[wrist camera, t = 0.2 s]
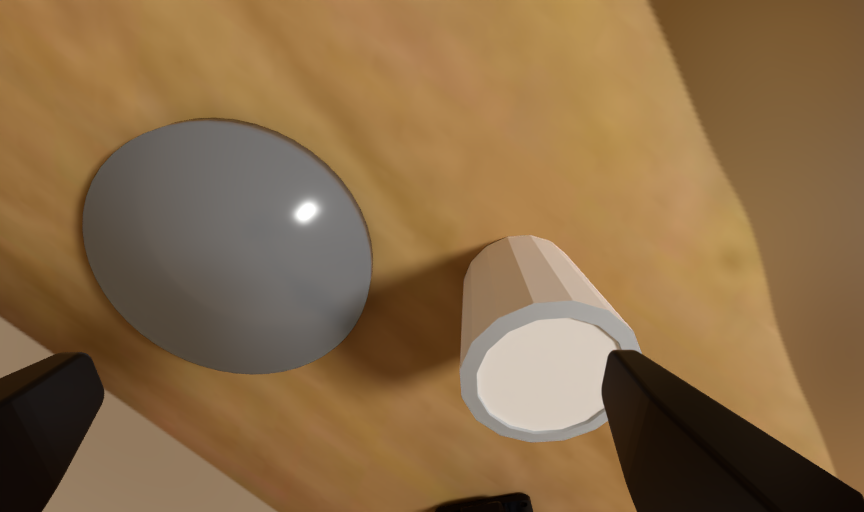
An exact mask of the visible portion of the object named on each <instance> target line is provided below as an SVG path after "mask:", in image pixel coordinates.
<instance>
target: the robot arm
mask: <svg viewBox="0 0 864 512" xmlns="http://www.w3.org/2000/svg"><path fill="white" fill-rule="evenodd" d="M601 395H602V401H603V405H604V408H605V412H606V415H607V419H608V422H609V426H610V429H611V433H612V436H613V440H614V443H615V447H616V450H617V454H618V457H619V461H620V464H621V468H622V471H623V475H624V478H625V481H626V484H627V487H628V490H629V492H630V495H631V498H632V500H633V503H634V505H635V508H636V510H637V512H864V498H863V496H862V494H861V493H860V492H858V491H856V490H855V489H853V488H851V487H850V486H848V485H847V484H845V483H844V482H842V481H841V480H839V479H838V478H836V477H834V476H833V475H831V474H830V473H828V472H827V471H825V470H823V469H822V468H820V467H819V466H817V465H816V464H814V463H812V462H811V461H809V460H808V459H806V458H805V457H803V456H801V455H800V454H798V453H797V452H795V451H794V450H792V449H790V448H789V447H787V446H786V445H784V444H783V443H781V442H779V441H778V440H776V439H775V438H773V437H772V436H770V435H768V434H767V433H765V432H764V431H762V430H761V429H759V428H757V427H756V426H754V425H753V424H751V423H750V422H748V421H746V420H745V419H743V418H742V417H740V416H739V415H737V414H735V413H734V412H732V411H731V410H729V409H728V408H726V407H724V406H723V405H721V404H720V403H718V402H717V401H715V400H713V399H712V398H710V397H709V396H707V395H706V394H704V393H702V392H701V391H699V390H698V389H696V388H695V387H693V386H691V385H690V384H688V383H687V382H685V381H684V380H682V379H680V378H679V377H677V376H676V375H674V374H673V373H671V372H669V371H668V370H666V369H665V368H663V367H662V366H660V365H658V364H657V363H655V362H654V361H652V360H651V359H649V358H647V357H646V356H644V355H643V354H641V353H640V352H638V351H636V350H612V351H611V352H610V353H609V355H608V357H607V362H606V367H605V372H604V377H603V381H602V387H601ZM103 399H104V388H103V385H102V382H101V380H100V378H99V375H98V373H97V370H96V368H95V365H94V363H93V361H92V359H91V357H90V356H89V355H88V354H86V353H82V352H64V353H58V354H55V355H53V356H50V357H48V358H46V359H43V360H41V361H39V362H37V363H34V364H32V365H30V366H27V367H25V368H23V369H21V370H18V371H16V372H14V373H11V374H9V375H7V376H5V377H3V378H0V512H42V511H43V509H44V508H45V506H46V504H47V503H48V501H49V500H50V498H51V497H52V495H53V493H54V492H55V490H56V489H57V487H58V485H59V483H60V482H61V480H62V478H63V476H64V474H65V472H66V471H67V469H68V467H69V465H70V463H71V461H72V459H73V457H74V456H75V454H76V452H77V450H78V448H79V446H80V444H81V442H82V440H83V439H84V437H85V435H86V433H87V431H88V429H89V427H90V426H91V424H92V421H93V420H94V418H95V416H96V414H97V412H98V410H99V409H100V407H101V405H102V402H103ZM435 512H533V509H532V504H531V500H530V497H529V496H528V495H526V494H520V495H514V496H508V497H501V498H495V499H489V500H483V501H477V502H471V503H464V504H458V505H452V506H446V507H440V508H437V509H436V510H435Z"/></svg>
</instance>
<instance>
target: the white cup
mask: <svg viewBox="0 0 864 512" xmlns="http://www.w3.org/2000/svg"><path fill="white" fill-rule="evenodd" d="M612 350H636V351H638V352H640V353H641V350H640V347H639V345H638V342H637V340H636V337H635V334H634V332H633V330H632V329H631V328H630V327H629V326H628V324H627V323H626V322H625V321H624V320H623V319H622V318H621V316H620V315H619V314H618V313H617V312H616V311H615V310H614V308H613V307H612V306H611V305H610V304H609V303H608V302H607V300H606V299H605V298H604V297H603V296H602V295H601V294H600V292H599V291H598V290H597V289H596V288H595V287H594V286H593V284H592V283H591V282H590V281H589V280H588V279H587V278H586V276H585V275H584V274H583V273H582V272H581V271H580V270H579V268H578V267H577V266H576V265H575V264H574V263H573V262H572V260H571V259H570V258H569V257H568V256H567V255H566V254H565V253H564V252H563V251H562V250H561V249H559V248H558V247H557V246H556V245H555V244H553V243H552V242H551V241H548V240H545V239H542V238H538V237H535V236H532V235H523V236H510V237H505V238H503V239H501V240H499V241H497V242H494V243H492V244H490V245H488V246H486V247H485V248H484V249H483V250H482V251H481V252H480V253H479V254H478V255H477V256H476V257H475V258H474V259H473V260H472V261H471V263H470V266H469V268H468V271H467V273H466V275H465V278H464V285H463V308H462V330H461V352H460V381H461V395H462V398H463V400H464V402H465V403H466V405H467V406H468V408H469V409H470V411H471V412H472V414H473V415H474V417H475V419H476V420H477V421H479V422H481V423H482V424H484V425H485V426H487V427H488V428H490V429H491V430H493V431H495V432H496V433H498V434H499V435H501V436H506V437H510V438H514V439H519V440H523V441H527V442H545V441H561V440H566V439H569V438H572V437H575V436H578V435H581V434H584V433H586V432H589V431H592V430H595V429H597V428H598V427H600V426H601V425H602V424H604V423H605V422H606V421H608V419H607V415H606V412H605V408H604V405H603V401H602V395H601V387H602V381H603V377H604V372H605V367H606V362H607V357H608V355H609V353H610V352H611V351H612ZM641 354H642V353H641Z"/></svg>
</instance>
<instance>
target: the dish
mask: <svg viewBox="0 0 864 512" xmlns="http://www.w3.org/2000/svg"><path fill="white" fill-rule="evenodd" d="M82 230H83V238H84V246H85V250H86V253H87V257H88V261H89V264H90V266H91V269H92V271H93V273H94V276H95V278H96V280H97V282H98V283H99V285H100V287H101V289H102V290H103V292H104V294H105V295H106V297H107V298H108V299H109V301H110V302H111V303H112V305H113V306H114V307H115V309H116V310H117V311H118V312H119V313H120V314H121V315H122V316H123V317H124V318H125V320H126V321H127V322H128V323H130V324H131V325H132V326H133V327H134V328H135V329H136V330H137V331H139V332H140V333H141V334H142V335H144V336H145V337H146V338H148V339H149V340H150V341H152V342H153V343H155V344H156V345H158V346H160V347H161V348H163V349H165V350H166V351H168V352H170V353H172V354H174V355H176V356H178V357H180V358H182V359H184V360H187V361H189V362H192V363H195V364H198V365H200V366H203V367H207V368H211V369H215V370H219V371H225V372H231V373H239V374H269V373H276V372H283V371H287V370H291V369H295V368H298V367H301V366H303V365H306V364H309V363H311V362H313V361H315V360H317V359H319V358H321V357H322V356H324V355H326V354H327V353H328V352H330V351H331V350H332V349H334V348H335V347H336V346H337V345H339V344H340V343H341V342H342V341H343V340H344V339H345V338H346V337H347V335H348V334H349V333H350V331H351V330H352V329H353V327H354V326H355V325H356V323H357V321H358V319H359V317H360V315H361V314H362V311H363V308H364V305H365V303H366V300H367V296H368V291H369V287H370V282H371V277H372V268H373V253H372V244H371V239H370V235H369V231H368V227H367V224H366V221H365V219H364V217H363V214H362V212H361V209H360V207H359V206H358V204H357V202H356V200H355V199H354V197H353V195H352V193H351V192H350V191H349V189H348V188H347V187H346V185H345V184H344V183H343V181H342V180H341V179H340V178H339V176H338V175H337V174H336V173H335V172H334V171H333V170H332V169H331V168H330V167H329V166H328V165H327V164H326V163H325V162H323V161H322V160H321V159H320V158H319V157H317V156H316V155H315V154H314V153H313V152H311V151H310V150H308V149H307V148H305V147H304V146H302V145H301V144H299V143H298V142H296V141H294V140H293V139H291V138H288V137H286V136H284V135H282V134H280V133H278V132H276V131H274V130H271V129H268V128H265V127H263V126H260V125H257V124H253V123H249V122H244V121H240V120H235V119H224V118H197V119H190V120H185V121H179V122H175V123H172V124H169V125H166V126H164V127H161V128H158V129H155V130H152V131H150V132H147V133H144V134H142V135H140V136H138V137H137V138H135V139H133V140H131V141H129V142H127V143H126V144H125V145H123V146H122V147H121V148H119V149H118V150H117V151H116V152H114V153H113V154H112V155H111V156H110V157H109V158H108V160H107V161H106V162H105V163H104V164H103V165H102V166H101V168H100V169H99V171H98V173H97V174H96V176H95V177H94V179H93V181H92V183H91V186H90V188H89V191H88V193H87V196H86V200H85V205H84V210H83V229H82Z"/></svg>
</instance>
